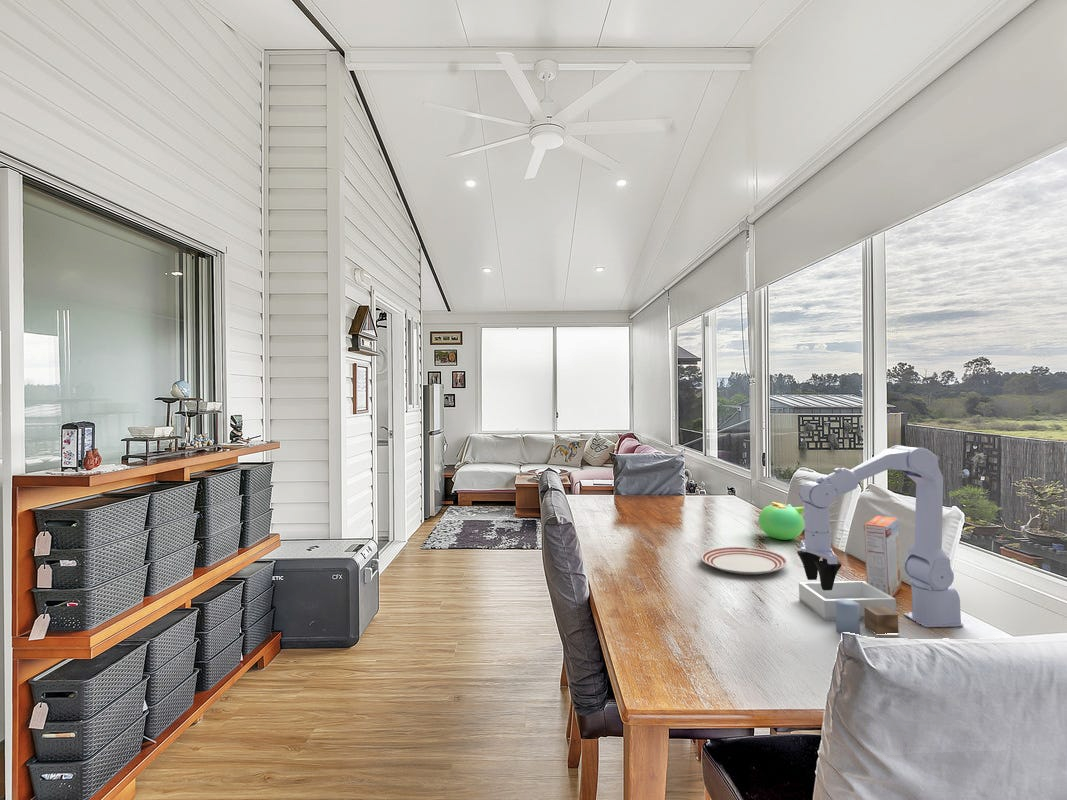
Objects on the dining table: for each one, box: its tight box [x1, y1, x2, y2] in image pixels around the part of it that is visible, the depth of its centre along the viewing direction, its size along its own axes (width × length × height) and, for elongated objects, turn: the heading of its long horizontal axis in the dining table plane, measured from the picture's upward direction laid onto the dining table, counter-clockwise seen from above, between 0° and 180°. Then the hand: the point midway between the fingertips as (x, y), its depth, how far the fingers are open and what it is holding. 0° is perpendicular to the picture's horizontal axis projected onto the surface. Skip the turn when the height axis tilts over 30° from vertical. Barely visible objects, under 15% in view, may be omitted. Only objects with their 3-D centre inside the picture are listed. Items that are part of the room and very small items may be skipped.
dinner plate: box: [700, 546, 788, 576], centre depth 185 cm, size 28×27×3 cm
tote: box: [798, 580, 897, 621], centre depth 146 cm, size 18×14×5 cm
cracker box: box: [863, 515, 902, 598], centre depth 156 cm, size 14×6×21 cm, turn 135°
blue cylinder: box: [835, 599, 861, 636], centre depth 132 cm, size 5×5×7 cm
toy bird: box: [758, 501, 805, 541], centre depth 218 cm, size 18×17×15 cm
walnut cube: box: [864, 607, 900, 634], centre depth 132 cm, size 5×5×5 cm
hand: (819, 584), depth 136 cm, fingers open, 7 cm apart
